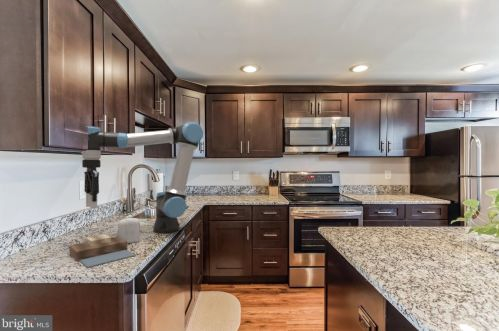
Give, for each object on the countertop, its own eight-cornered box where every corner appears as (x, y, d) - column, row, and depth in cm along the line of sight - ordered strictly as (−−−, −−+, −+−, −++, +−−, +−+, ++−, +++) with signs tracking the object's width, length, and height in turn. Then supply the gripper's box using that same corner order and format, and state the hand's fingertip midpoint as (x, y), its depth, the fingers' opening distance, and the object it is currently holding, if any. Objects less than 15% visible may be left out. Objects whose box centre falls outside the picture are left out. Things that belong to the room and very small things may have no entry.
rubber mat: (125, 250, 121) (125, 249, 121) (134, 256, 114) (134, 255, 114) (80, 261, 107) (80, 260, 107) (87, 268, 101) (87, 266, 101)
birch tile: (104, 239, 125) (104, 233, 125) (110, 242, 119) (110, 237, 119) (85, 242, 119) (85, 237, 119) (91, 246, 113) (91, 241, 113)
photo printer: (138, 239, 138) (139, 216, 137) (140, 242, 134) (140, 217, 134) (117, 243, 132) (117, 218, 132) (118, 245, 128) (118, 220, 128)
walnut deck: (117, 244, 130) (117, 236, 130) (127, 250, 122) (127, 241, 122) (69, 254, 115) (69, 245, 115) (76, 261, 107) (76, 251, 107)
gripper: (76, 159, 129) (76, 206, 130) (88, 159, 116) (88, 211, 117) (93, 159, 135) (93, 204, 135) (107, 159, 122) (106, 209, 122)
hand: (91, 207), depth 126 cm, fingers open, 6 cm apart
